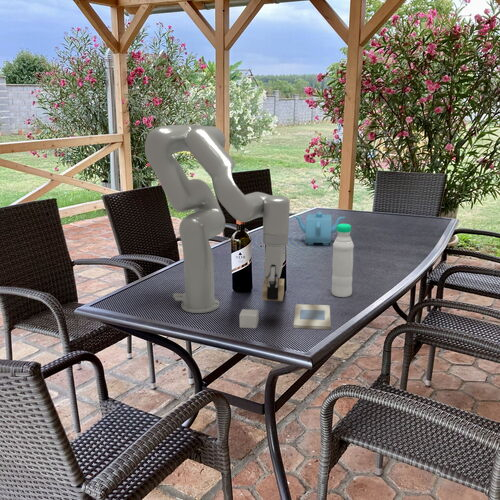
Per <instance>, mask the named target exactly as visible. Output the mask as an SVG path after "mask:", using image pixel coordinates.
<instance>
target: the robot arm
mask: <svg viewBox="0 0 500 500" xmlns="http://www.w3.org/2000/svg"><path fill="white" fill-rule="evenodd" d="M225 147H226V137H225V134H224V132H223V131H222V130H221V129H220V128H219V127H217V126H214V125H213V126H212V125H194V124H193V125H192V124H170V125H161V126H157V127H155V128H154V129H151V131H150V132H149V133H148V134H147V136H146V138H145V141H144V153H145V157H146V160H147V162H148V163H149V166H150V167H151V169H152V170H153V172H154V173H155V175H156V178H157V179H158V182H159V183H160V184H159V185H160V186H161V187H162V190H163V191H164V192H163V193H164V194H165V196H166V197H167V199H168V202H169V204H170V205H171V208H172V209H173V210H174V211H176V212H178V213H185V212H190V211H192V210H193V211H194V212H193V213H189V214H188V215H186V216H184V217H183V219H182V220H181V221H180V224H179V228H178V232H179V237H180V241H181V246H182V253H183V268H184V270H183V272H184V290H185V291H184V292H183V293H179V292H178V293H177V292H174V293H173V294H172V295H173V296H172V298H173V299H174V302H181V304H180V305H181V309H182V310H183V311H185V312H187V313H191V314H205V313H210V312H214V311H216V310H217V309H218V308H220V300H218V299H217V298H215V274H214V273H215V271H214V255H213V254H214V253H213V249H212V246H211V243H210V239H213V238H215V237H217V236H219V235H221V234H222V233H223V232H224V230H225V227H226V218H225V214H224V213H223V210H222V209H221V207H220V205H219V203H220V204H221V205H222V207H224V208H225V210H226V211H227V212H228V214H229V215H231V216H232V218H234V219H235V220H236V221H239V222H241V223H248V222H251V221H253V220H255V219H258V218H262V219H263V220H262V221H263V222H262V245H265V249H264V250H265V252H264V267H263V268H264V269H263V277H264V279H265V278H269V279H268V287H267V299H270V300H269V301H272V300H278V287H277V286H278V278H280V277H281V274H282V270H283V265H284V264H283V263H284V250H285V246H287V245H288V244H289V231H290V230H289V229H290V224H289V223H290V210H291V209H290V205H291V204H290V203H291V201H290V200H289V198H288V197H287V196H283V195H272V194H267V193H265V192H260V191H254V192H251V193H247V194H245V193H243V192H242V190H241V189H240V188H239V187H238V185H237V184H236V183H235V180H234V178H233V170H234V168H235V164H236V163H235V160H234V159H233V158H232V156H230V154H229V153H228V152H227V151H226V149H225ZM180 152H189V153H190V154H191V155H192V156H193V158H195V160H196V162H198V163H199V164H200V166H201V167H202V168H203V169H204V171H205V172H206V173H207V174H208V176H209V177H210V178H211V179H212V182H213V187H214V188H213V189H214V191H215V194H216V197H217V199H218V201H219V203H218V201H217V199H216V197H215V195H214V192H213V190H212V189H211V187H210V186H209V185H208V183H207V182H205V181H204V180H202V179H198V178H194V179H193V178H192V179H189V177H188V175H186V172H185V170H184V168H183V166H182V165H181V164H180V162H179V161H178V160H177V159H176V158H175V157H174V156H173V154H174V153H180ZM275 279H276V281H275Z"/></svg>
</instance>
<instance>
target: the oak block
mask: <svg viewBox="0 0 500 500" xmlns="http://www.w3.org/2000/svg"><path fill="white" fill-rule="evenodd" d="M268 279H269V278H268V277H266V278H265V277H264V279H263V283H262V298H261V299H262V301H271V302H272V301H275V302H283V300H284V295H285V278H280V277H279V278H278V286H277V287H278V300H270V299H267V287H268ZM275 281H276V279H275Z"/></svg>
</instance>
